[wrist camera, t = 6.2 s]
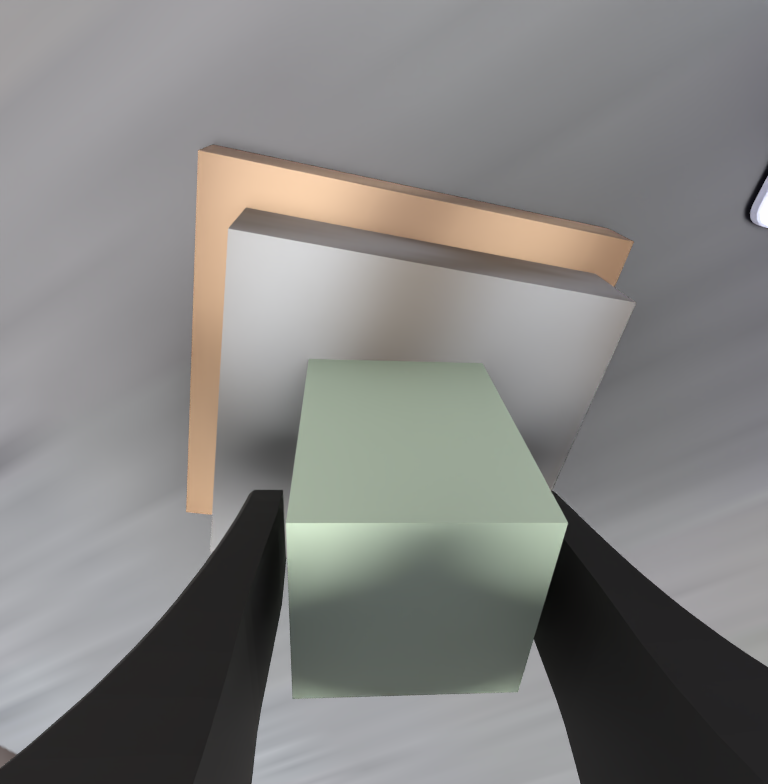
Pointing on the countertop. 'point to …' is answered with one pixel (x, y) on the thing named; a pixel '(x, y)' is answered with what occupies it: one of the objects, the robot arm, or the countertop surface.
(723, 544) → the countertop surface
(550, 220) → the tower base
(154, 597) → the countertop surface
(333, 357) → the tower top
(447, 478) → the green block
